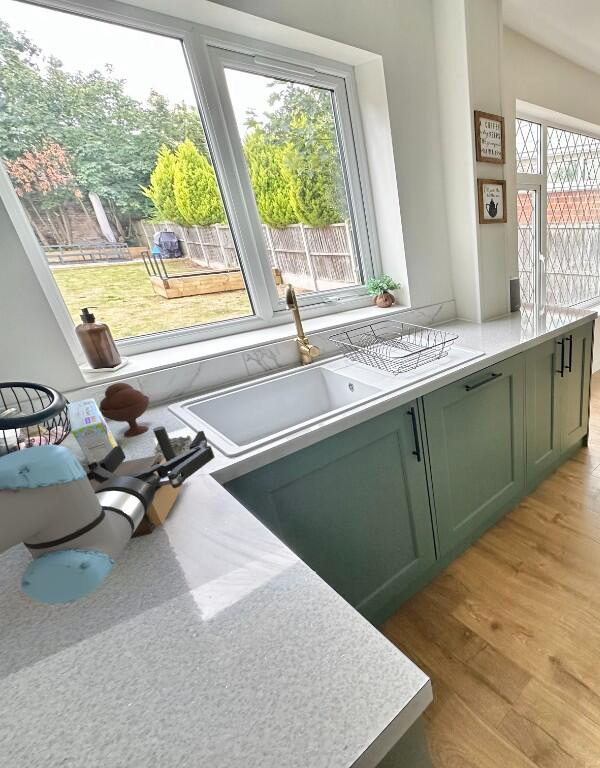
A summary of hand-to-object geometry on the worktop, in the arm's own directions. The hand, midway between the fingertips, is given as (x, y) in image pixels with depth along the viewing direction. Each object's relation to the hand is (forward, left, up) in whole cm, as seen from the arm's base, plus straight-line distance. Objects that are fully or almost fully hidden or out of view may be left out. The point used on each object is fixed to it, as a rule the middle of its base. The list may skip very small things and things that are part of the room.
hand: (163, 444), depth 82 cm
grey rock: (-28, +3, -16) cm, 32 cm away
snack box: (-37, -9, -16) cm, 41 cm away
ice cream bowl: (-54, -1, -16) cm, 56 cm away
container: (-5, -8, -15) cm, 17 cm away
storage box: (-7, -11, -16) cm, 20 cm away
